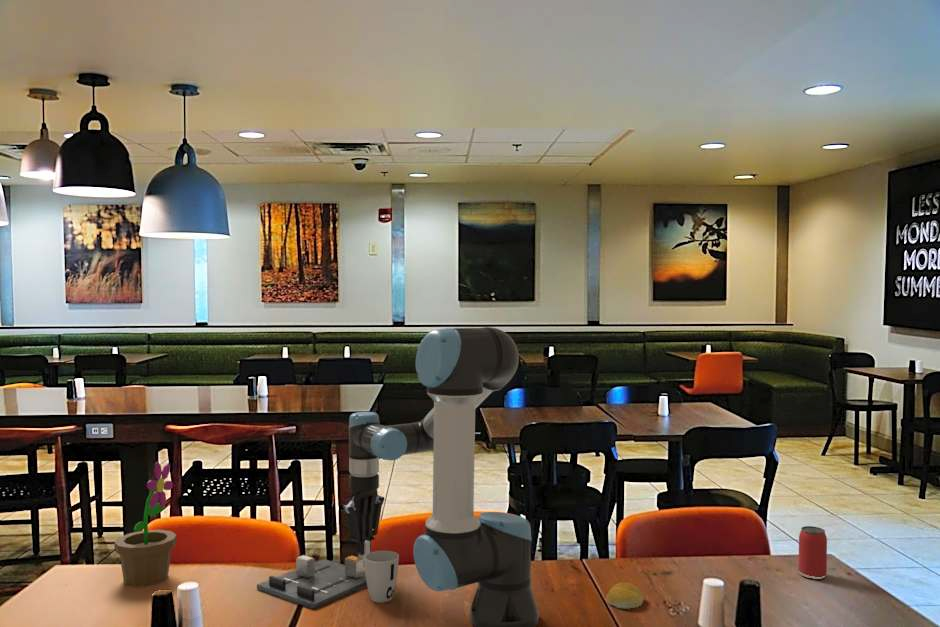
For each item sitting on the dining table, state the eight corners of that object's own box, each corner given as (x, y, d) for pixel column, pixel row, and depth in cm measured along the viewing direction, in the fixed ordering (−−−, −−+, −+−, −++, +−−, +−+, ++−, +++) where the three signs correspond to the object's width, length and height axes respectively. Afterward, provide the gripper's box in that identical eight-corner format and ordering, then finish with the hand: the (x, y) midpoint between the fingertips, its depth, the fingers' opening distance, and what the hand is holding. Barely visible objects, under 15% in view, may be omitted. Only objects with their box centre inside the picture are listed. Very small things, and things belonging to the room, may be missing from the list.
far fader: (314, 575, 190) (314, 558, 190) (307, 577, 188) (307, 560, 188) (303, 571, 193) (303, 554, 193) (296, 574, 191) (296, 557, 191)
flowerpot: (158, 591, 183) (157, 467, 183) (102, 588, 185) (101, 465, 184) (187, 569, 198) (186, 454, 197) (135, 567, 199) (134, 453, 198)
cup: (392, 606, 175) (393, 563, 174) (359, 603, 176) (359, 560, 176) (403, 593, 183) (403, 551, 182) (370, 590, 184) (370, 549, 184)
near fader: (363, 575, 190) (363, 558, 190) (356, 578, 188) (356, 561, 188) (351, 572, 192) (351, 555, 192) (344, 574, 191) (344, 557, 190)
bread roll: (603, 607, 175) (603, 590, 175) (611, 593, 183) (611, 577, 183) (639, 613, 172) (639, 595, 172) (646, 598, 180) (646, 582, 180)
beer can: (799, 579, 193) (800, 531, 192) (796, 569, 199) (797, 524, 199) (828, 581, 191) (829, 534, 190) (824, 572, 197) (825, 526, 197)
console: (379, 580, 191) (379, 567, 191) (313, 609, 173) (313, 595, 173) (324, 563, 202) (324, 551, 202) (256, 589, 185) (256, 576, 185)
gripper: (371, 466, 200) (371, 555, 201) (334, 476, 190) (334, 570, 190) (392, 470, 196) (392, 561, 196) (356, 480, 185) (356, 576, 186)
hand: (364, 565), depth 193 cm, fingers closed
